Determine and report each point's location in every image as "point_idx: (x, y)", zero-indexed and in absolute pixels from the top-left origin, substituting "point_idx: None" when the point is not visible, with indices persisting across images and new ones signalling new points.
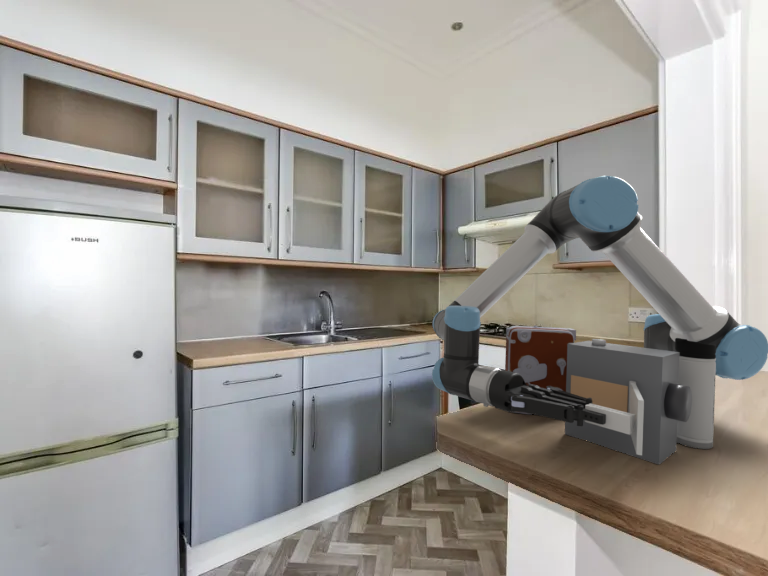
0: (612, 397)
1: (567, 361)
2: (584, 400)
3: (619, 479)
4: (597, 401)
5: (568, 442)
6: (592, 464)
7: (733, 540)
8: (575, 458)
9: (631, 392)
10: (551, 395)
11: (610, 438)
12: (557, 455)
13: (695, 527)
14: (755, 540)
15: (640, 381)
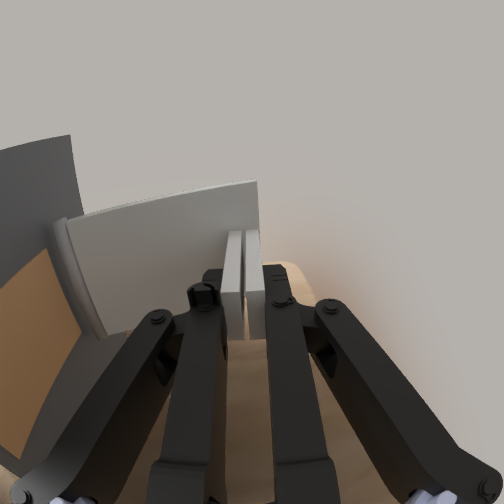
0: (40, 311)
1: None
2: (167, 328)
3: (252, 362)
4: (30, 362)
5: (128, 493)
6: (227, 415)
7: (289, 268)
8: (227, 450)
9: (100, 234)
10: (212, 455)
11: None
12: (251, 484)
13: (299, 284)
14: (270, 263)
15: (56, 215)
